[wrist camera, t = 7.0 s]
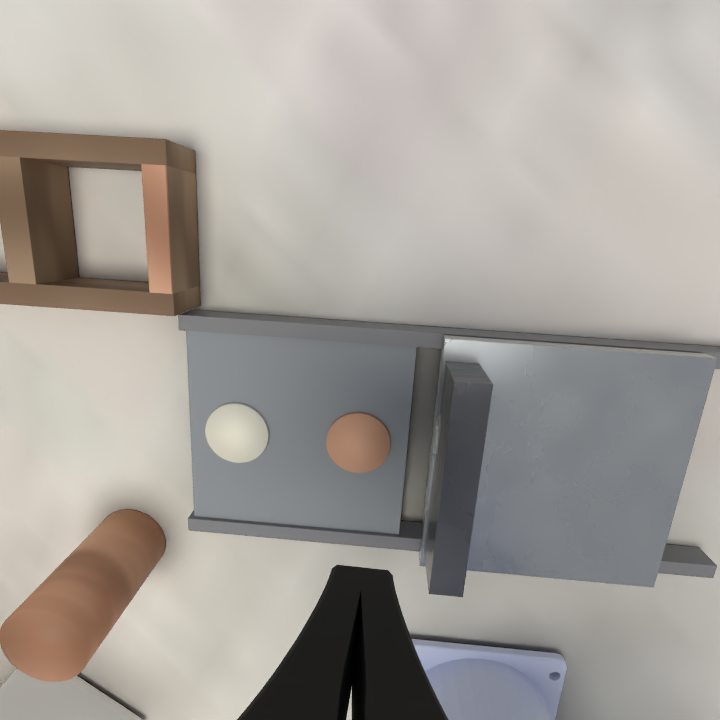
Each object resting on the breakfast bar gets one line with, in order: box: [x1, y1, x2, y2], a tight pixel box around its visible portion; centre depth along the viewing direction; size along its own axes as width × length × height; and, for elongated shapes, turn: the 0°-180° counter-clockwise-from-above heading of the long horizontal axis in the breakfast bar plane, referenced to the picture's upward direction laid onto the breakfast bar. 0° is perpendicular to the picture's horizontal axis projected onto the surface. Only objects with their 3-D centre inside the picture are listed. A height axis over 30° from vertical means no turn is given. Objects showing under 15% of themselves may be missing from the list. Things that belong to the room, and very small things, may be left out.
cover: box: [419, 335, 717, 597], centre depth 17 cm, size 10×9×3 cm
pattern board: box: [178, 310, 720, 578], centre depth 19 cm, size 10×22×1 cm, turn 87°
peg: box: [0, 510, 166, 682], centre depth 19 cm, size 3×3×6 cm
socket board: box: [0, 130, 200, 316], centre depth 17 cm, size 6×11×2 cm, turn 87°
